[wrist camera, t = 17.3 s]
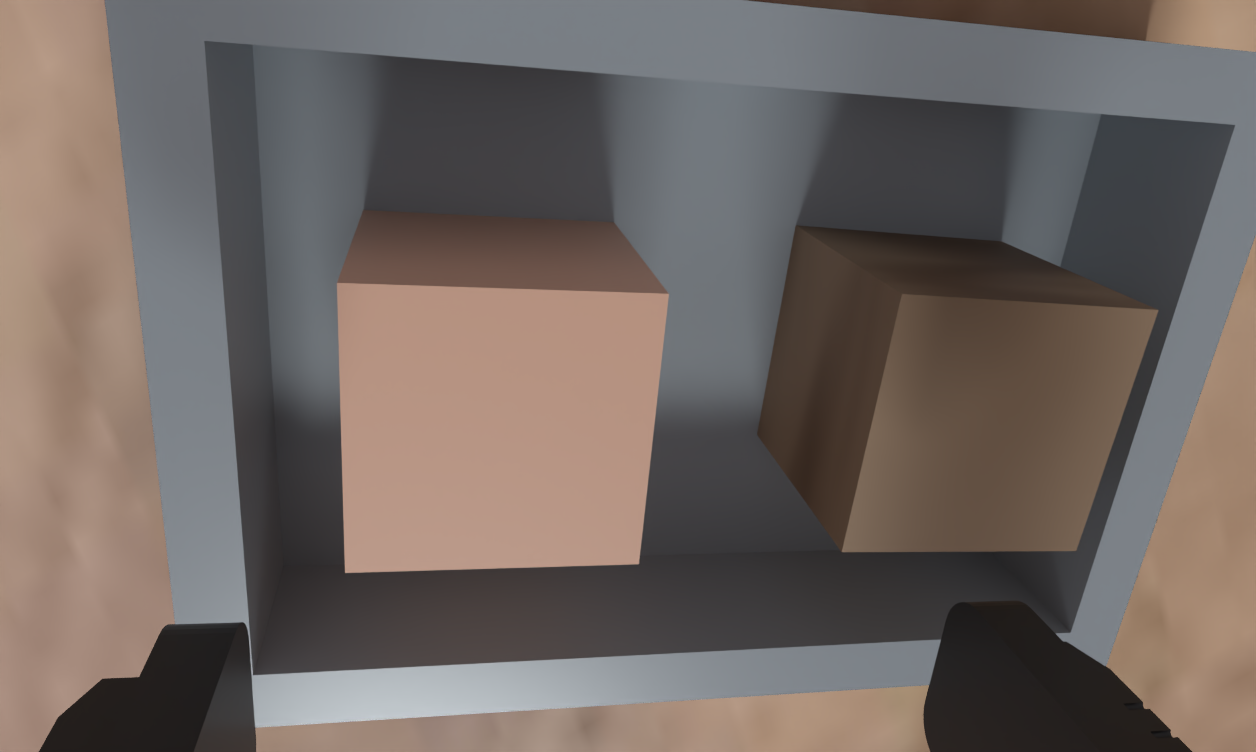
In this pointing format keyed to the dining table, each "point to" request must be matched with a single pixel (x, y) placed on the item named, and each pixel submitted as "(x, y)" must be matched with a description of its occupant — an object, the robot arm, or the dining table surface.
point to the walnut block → (946, 391)
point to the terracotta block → (495, 392)
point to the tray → (695, 323)
